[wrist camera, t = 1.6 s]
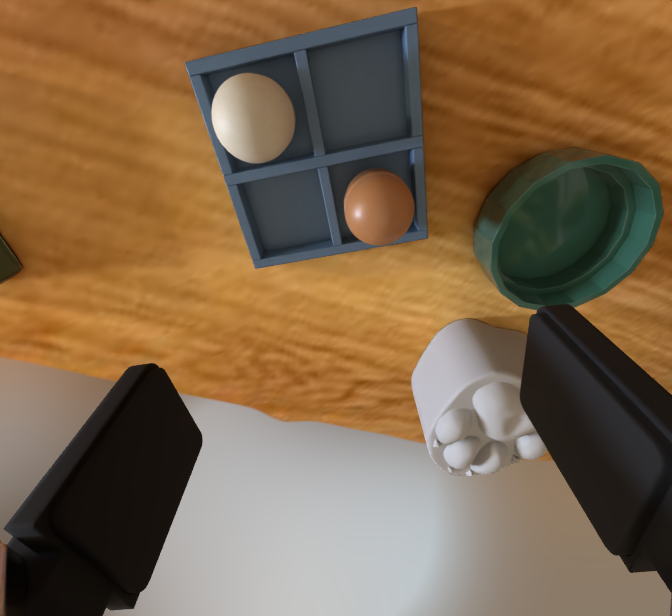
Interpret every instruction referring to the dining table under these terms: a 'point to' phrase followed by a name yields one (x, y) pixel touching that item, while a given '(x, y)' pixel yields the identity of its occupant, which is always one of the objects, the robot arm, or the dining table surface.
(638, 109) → the dining table surface
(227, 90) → the cream egg
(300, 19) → the dining table surface
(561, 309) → the robot arm
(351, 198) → the brown egg
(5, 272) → the carton
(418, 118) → the egg tray
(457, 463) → the lumpy-topped squat cylinder
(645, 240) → the bowl
